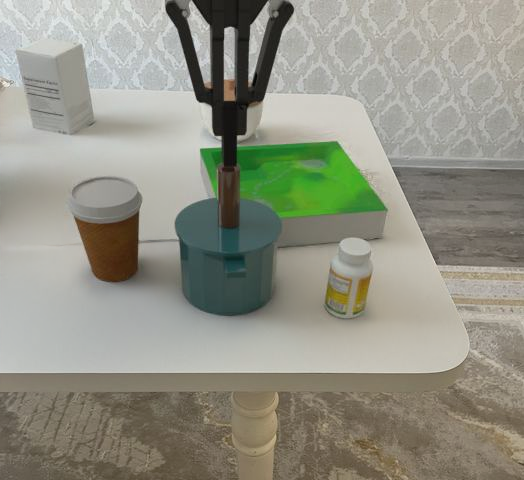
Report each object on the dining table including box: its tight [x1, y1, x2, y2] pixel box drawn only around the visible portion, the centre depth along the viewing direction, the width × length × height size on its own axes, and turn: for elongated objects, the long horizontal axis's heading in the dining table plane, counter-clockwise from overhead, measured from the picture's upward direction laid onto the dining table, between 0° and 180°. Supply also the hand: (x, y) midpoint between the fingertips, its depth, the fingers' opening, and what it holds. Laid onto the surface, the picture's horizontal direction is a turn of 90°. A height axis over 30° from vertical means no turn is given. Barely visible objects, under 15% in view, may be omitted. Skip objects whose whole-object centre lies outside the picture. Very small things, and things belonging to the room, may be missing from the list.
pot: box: [178, 238, 279, 317], centre depth 78 cm, size 13×18×10 cm
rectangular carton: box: [15, 37, 95, 136], centre depth 114 cm, size 9×9×15 cm
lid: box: [174, 163, 282, 256], centre depth 72 cm, size 14×14×9 cm
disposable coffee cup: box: [66, 175, 143, 283], centre depth 79 cm, size 10×10×12 cm
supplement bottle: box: [324, 238, 374, 319], centre depth 76 cm, size 5×5×10 cm
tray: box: [199, 140, 389, 248], centre depth 97 cm, size 25×25×5 cm
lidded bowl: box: [198, 78, 265, 143], centre depth 115 cm, size 13×13×11 cm
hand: (229, 161), depth 69 cm, fingers closed
